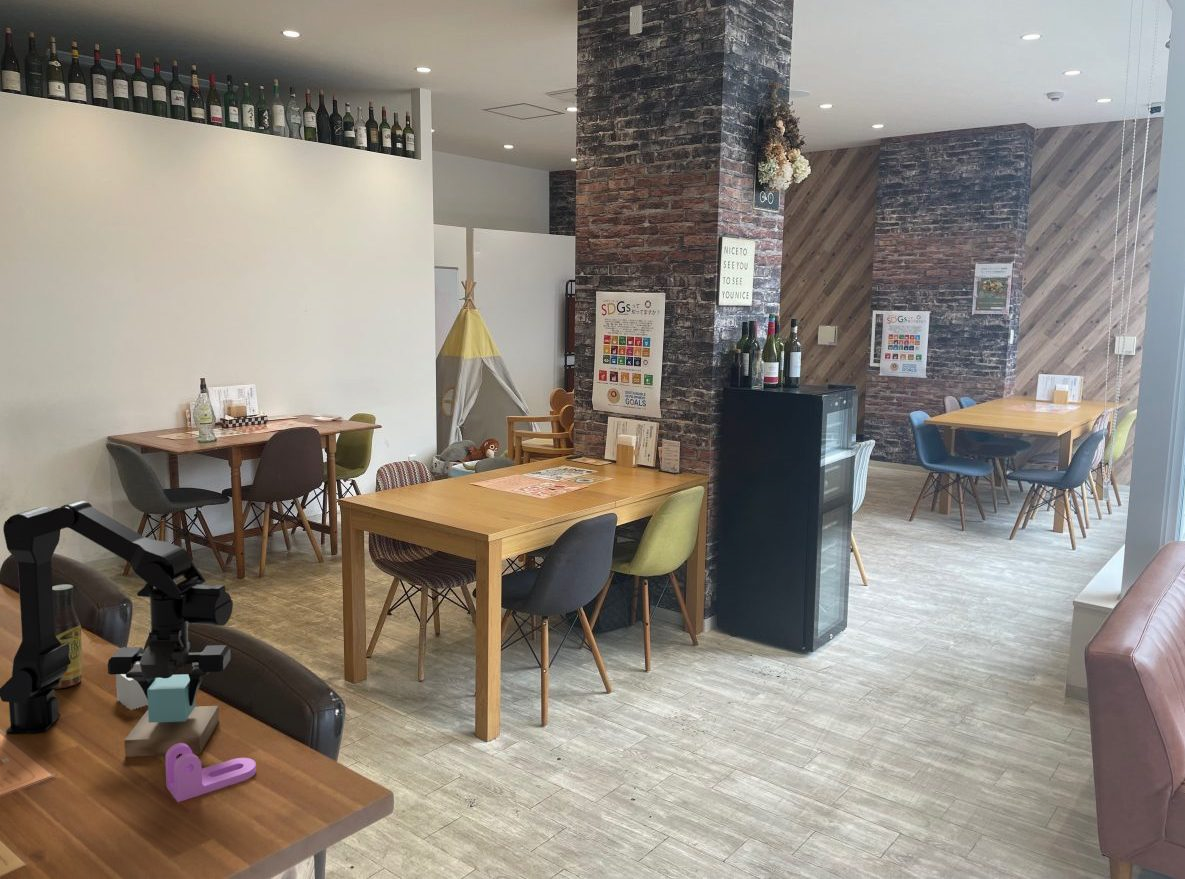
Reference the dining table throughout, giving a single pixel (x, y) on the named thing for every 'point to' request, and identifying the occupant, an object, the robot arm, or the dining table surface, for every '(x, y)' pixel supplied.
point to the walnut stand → (172, 733)
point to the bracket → (201, 773)
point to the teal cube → (169, 699)
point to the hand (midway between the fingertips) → (172, 705)
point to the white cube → (130, 692)
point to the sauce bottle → (68, 633)
